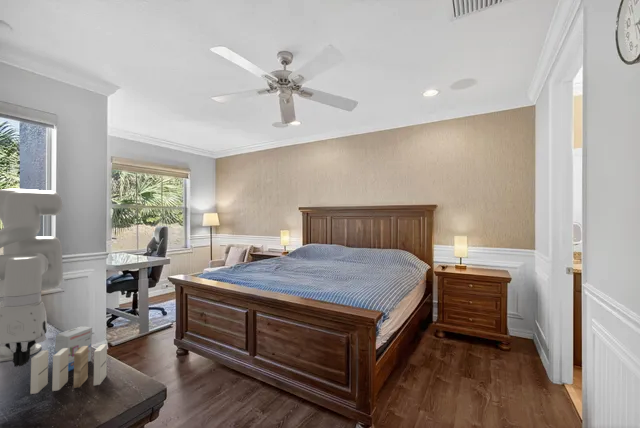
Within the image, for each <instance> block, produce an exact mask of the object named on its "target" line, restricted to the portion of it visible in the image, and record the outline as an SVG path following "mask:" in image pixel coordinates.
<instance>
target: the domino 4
mask: <svg viewBox="0 0 640 428" xmlns="http://www.w3.org/2000/svg"><path fill="white" fill-rule="evenodd" d="M107 351H108V344H107V343H103V344H100V345H99V346H98V347H97V348H96V349H95V350H94V352H93V355H94V356H93V386H100V385H101V384H102V383H103V381H104V380H105V378H106V377H107V367H108V366H107V363H108V360H107V359H108V352H107Z"/></svg>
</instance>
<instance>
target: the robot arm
mask: <svg viewBox="0 0 640 428" xmlns="http://www.w3.org/2000/svg"><path fill="white" fill-rule="evenodd" d="M62 208H63V199H62V197H61V195H60V194H59V193H58V192H56V191H53V190H45V189H44V190H43V189H41V190H39V189H26V188H3V189H0V220H1V223H2V225H3V226H2V228H1V229H0V249H1V248H2V249H3V250H2V252H3V253H2V254H0V362H8V361H12V362H13V364H14V367H15V368H17V367H23V366H24V365H26V364H27V363H28V362H29V361H30V360H31V355H34V354H37V353H39V351H40V350H42V344H41V343H43V342H45V341H46V340H47V337H46V336H47V335H46V334H47V332H48V331H47V330H48V317H47V311H46V310H47V309H46V306H45V304H44V302H43V301H42V291H44V290H49V289H50V290H52V289H55V288H59V287H60V286H61V285H62V283H63V279H64V278H63V276H64V275H63V274H64V273H63V272H64V271H63V270H64V268H63V246H62V242H61V240H60V239H59V238H58V237H56V236H47V235H45V236H44V235H43V236H37V235H38V234H39V233H40V231H41V216H59V215H60V214H61V213H62V210H63V209H62Z"/></svg>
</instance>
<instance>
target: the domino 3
mask: <svg viewBox="0 0 640 428" xmlns="http://www.w3.org/2000/svg"><path fill="white" fill-rule="evenodd" d="M88 373H89V362H88V346H82V347H81V348H80V349H79V350H78V351H77V352H75V353H74V369H73V389H76V388H81V387H82V385H83V384H84V383H85V382H86V381H87V380H88V379H89V374H88Z"/></svg>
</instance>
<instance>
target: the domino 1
mask: <svg viewBox="0 0 640 428" xmlns="http://www.w3.org/2000/svg"><path fill="white" fill-rule="evenodd" d="M30 360H31V361H30V390H29V391H30V393H29V394H30V395H32V394H34V395H35V394H38V393H40V391H42V389H43V388H45V387H46V386H47V385H48V384H49V382H48V381H49V378H48V377H49V349H46V350H45V349H44V350H41V351H40V352H39V351H38V352H37V353H36V354H35V355H33V356H32V357H30Z"/></svg>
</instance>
